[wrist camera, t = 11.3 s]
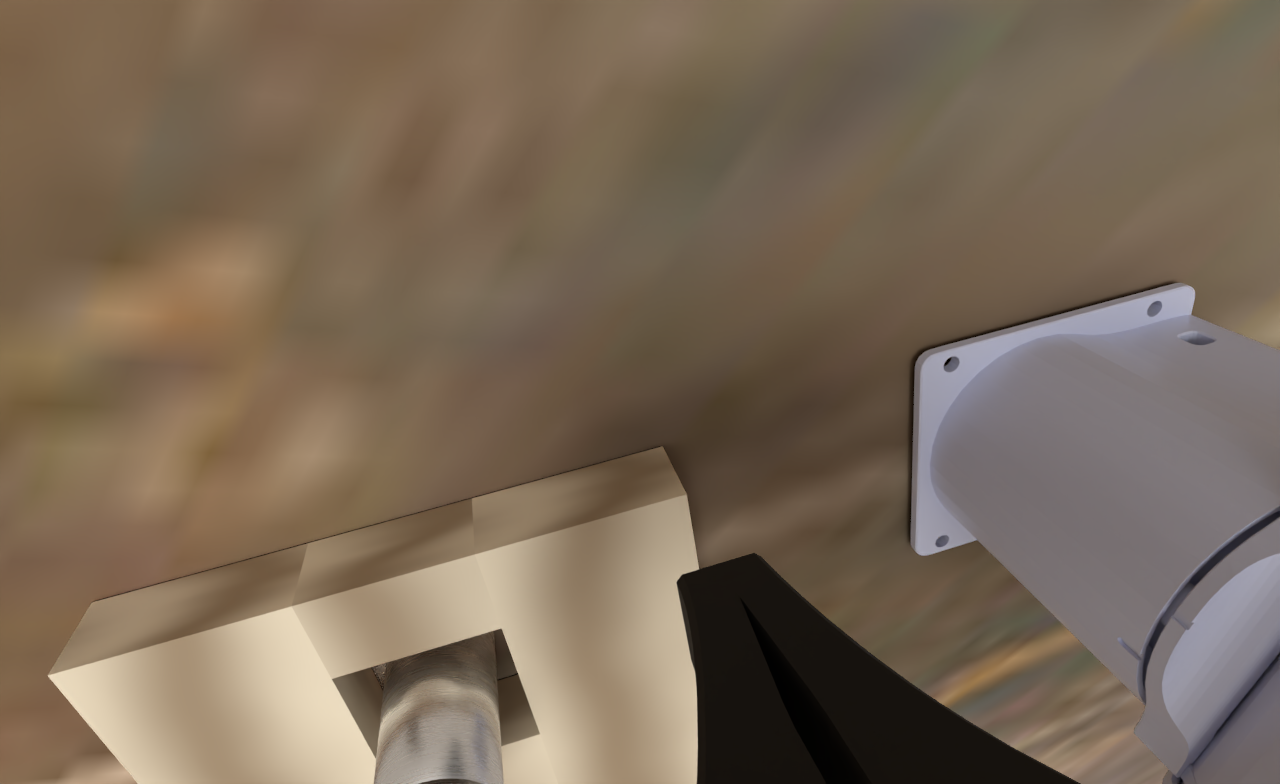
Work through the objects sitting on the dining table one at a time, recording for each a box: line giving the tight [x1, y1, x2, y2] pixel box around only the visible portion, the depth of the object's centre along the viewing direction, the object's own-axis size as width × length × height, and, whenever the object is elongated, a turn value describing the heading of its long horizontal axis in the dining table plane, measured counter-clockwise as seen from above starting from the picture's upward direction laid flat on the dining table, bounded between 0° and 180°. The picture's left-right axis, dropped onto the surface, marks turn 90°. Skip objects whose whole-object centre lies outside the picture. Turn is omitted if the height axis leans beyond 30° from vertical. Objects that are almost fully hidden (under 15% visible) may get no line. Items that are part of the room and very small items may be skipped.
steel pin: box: [374, 631, 504, 784], centre depth 20 cm, size 3×3×7 cm
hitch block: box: [48, 446, 699, 784], centre depth 23 cm, size 16×14×2 cm
